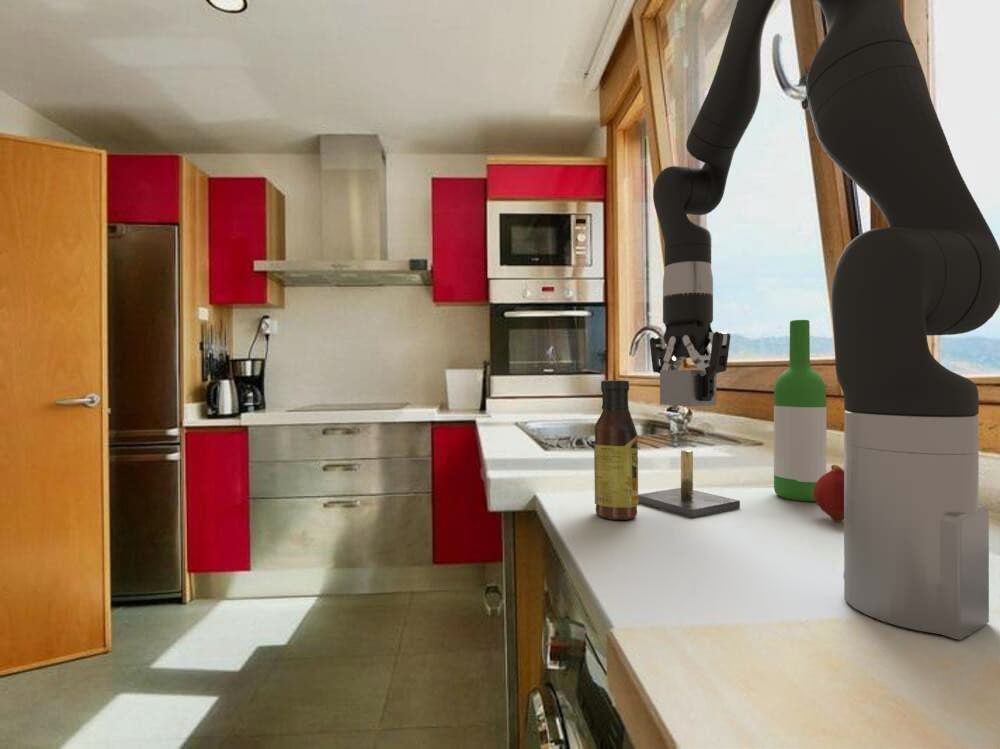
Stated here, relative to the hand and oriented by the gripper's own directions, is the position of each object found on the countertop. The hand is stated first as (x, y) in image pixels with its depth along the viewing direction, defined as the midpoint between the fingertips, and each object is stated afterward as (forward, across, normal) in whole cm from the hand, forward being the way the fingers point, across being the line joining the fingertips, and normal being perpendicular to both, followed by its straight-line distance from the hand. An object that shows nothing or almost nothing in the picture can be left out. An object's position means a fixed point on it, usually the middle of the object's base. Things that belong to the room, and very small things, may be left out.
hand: (687, 399), depth 83 cm
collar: (+1, 0, 0) cm, 1 cm away
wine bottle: (+17, -6, -21) cm, 28 cm away
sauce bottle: (+17, +1, +14) cm, 22 cm away
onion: (+17, -17, -11) cm, 26 cm away
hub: (+17, 0, 0) cm, 17 cm away
